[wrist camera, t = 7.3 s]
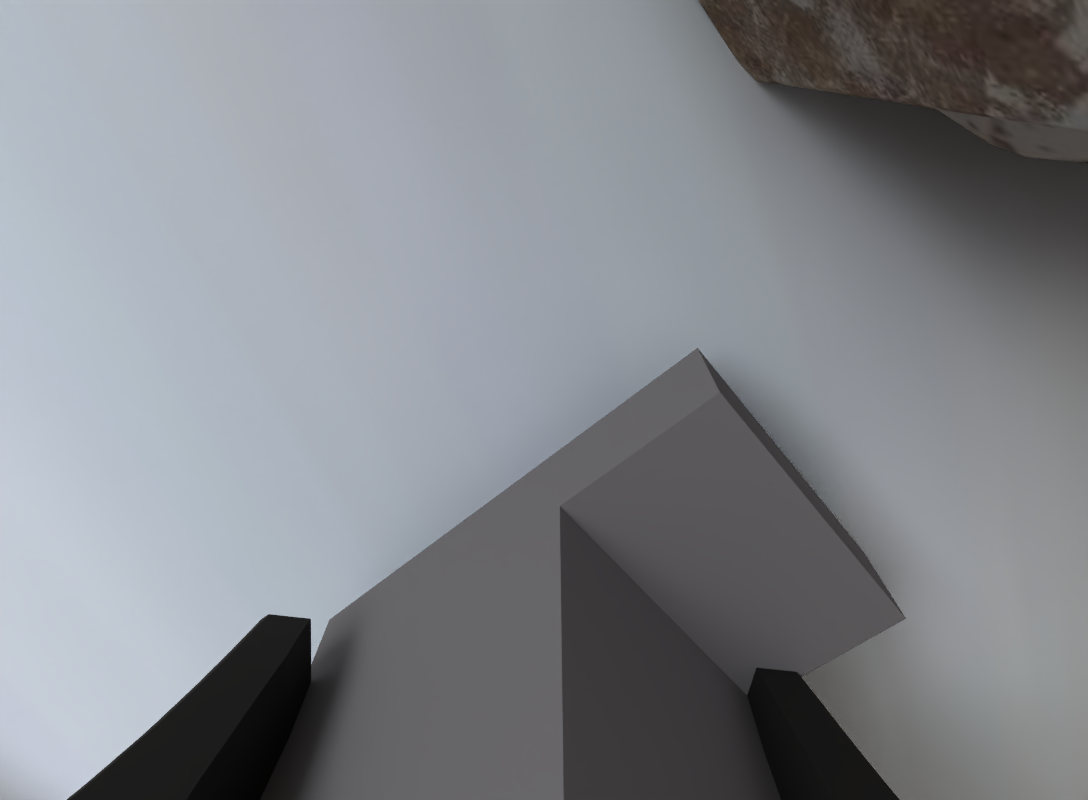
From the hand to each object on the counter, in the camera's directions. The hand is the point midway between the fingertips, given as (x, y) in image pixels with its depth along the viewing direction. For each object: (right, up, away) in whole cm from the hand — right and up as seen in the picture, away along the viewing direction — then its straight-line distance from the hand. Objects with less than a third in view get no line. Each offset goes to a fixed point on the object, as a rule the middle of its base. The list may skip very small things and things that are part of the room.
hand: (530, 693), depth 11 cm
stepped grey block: (+1, +1, +1) cm, 2 cm away
